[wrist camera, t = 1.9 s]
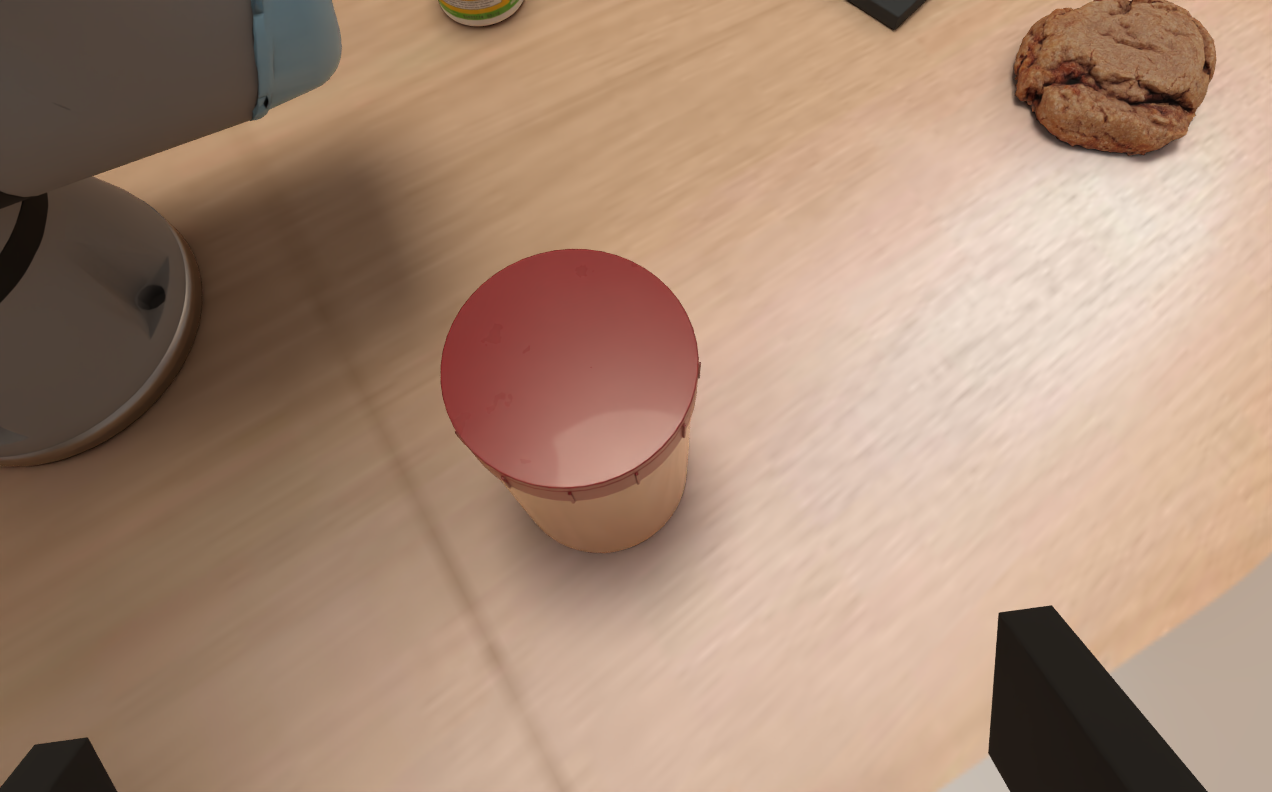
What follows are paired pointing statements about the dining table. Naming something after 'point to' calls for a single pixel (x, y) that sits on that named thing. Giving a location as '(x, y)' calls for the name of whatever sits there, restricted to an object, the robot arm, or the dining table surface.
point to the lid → (571, 374)
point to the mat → (889, 10)
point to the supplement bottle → (479, 10)
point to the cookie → (1116, 73)
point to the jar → (614, 509)
